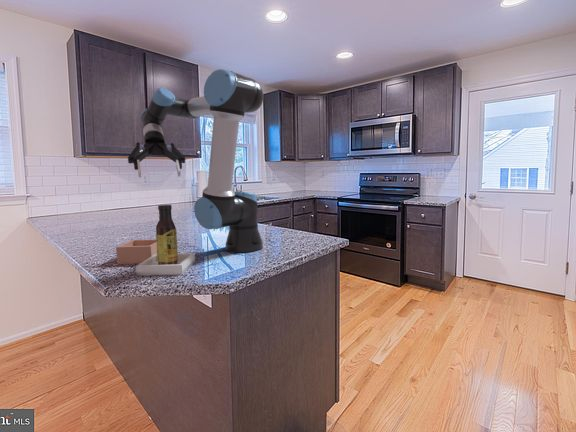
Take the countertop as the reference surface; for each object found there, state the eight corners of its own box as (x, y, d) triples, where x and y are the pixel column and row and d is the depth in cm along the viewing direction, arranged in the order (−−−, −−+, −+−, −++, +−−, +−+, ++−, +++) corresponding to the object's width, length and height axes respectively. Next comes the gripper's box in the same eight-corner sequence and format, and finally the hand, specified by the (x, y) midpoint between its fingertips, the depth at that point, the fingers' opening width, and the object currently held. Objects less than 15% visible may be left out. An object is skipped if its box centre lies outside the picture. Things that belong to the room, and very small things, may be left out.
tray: (195, 261, 110) (194, 253, 110) (182, 274, 97) (181, 265, 96) (155, 263, 110) (154, 254, 110) (136, 275, 96) (135, 266, 96)
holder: (164, 254, 122) (163, 239, 121) (152, 263, 110) (150, 246, 109) (133, 255, 122) (132, 240, 121) (117, 263, 110) (115, 247, 109)
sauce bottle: (171, 268, 100) (166, 206, 97) (153, 267, 101) (148, 206, 98) (182, 262, 106) (178, 204, 103) (165, 262, 107) (161, 204, 105)
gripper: (185, 145, 136) (193, 180, 125) (120, 144, 125) (122, 182, 114) (186, 131, 131) (195, 166, 119) (118, 128, 120) (121, 167, 108)
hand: (160, 174), depth 116 cm, fingers open, 13 cm apart
